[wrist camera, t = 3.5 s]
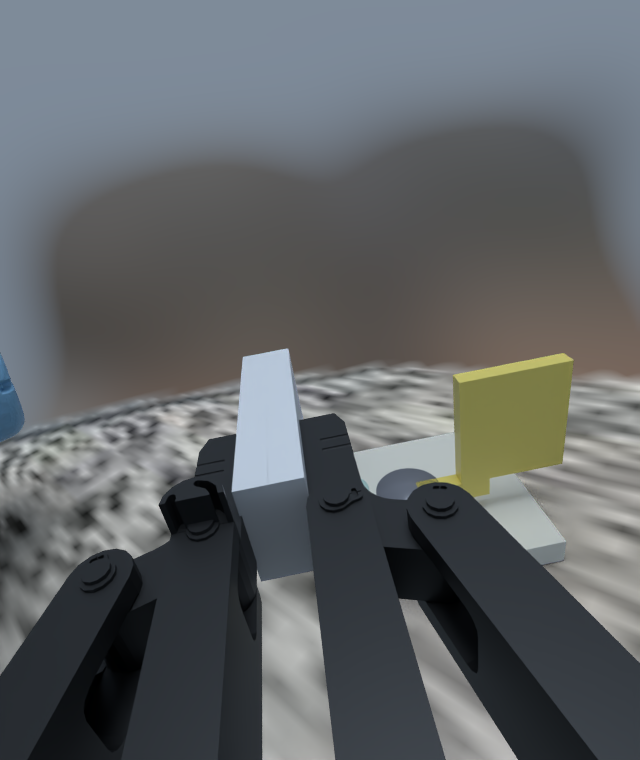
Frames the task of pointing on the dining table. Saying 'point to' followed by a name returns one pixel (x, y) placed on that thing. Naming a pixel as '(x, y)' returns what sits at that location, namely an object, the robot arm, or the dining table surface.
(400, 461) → the base
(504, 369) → the yellow flat slab
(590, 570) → the dining table surface
